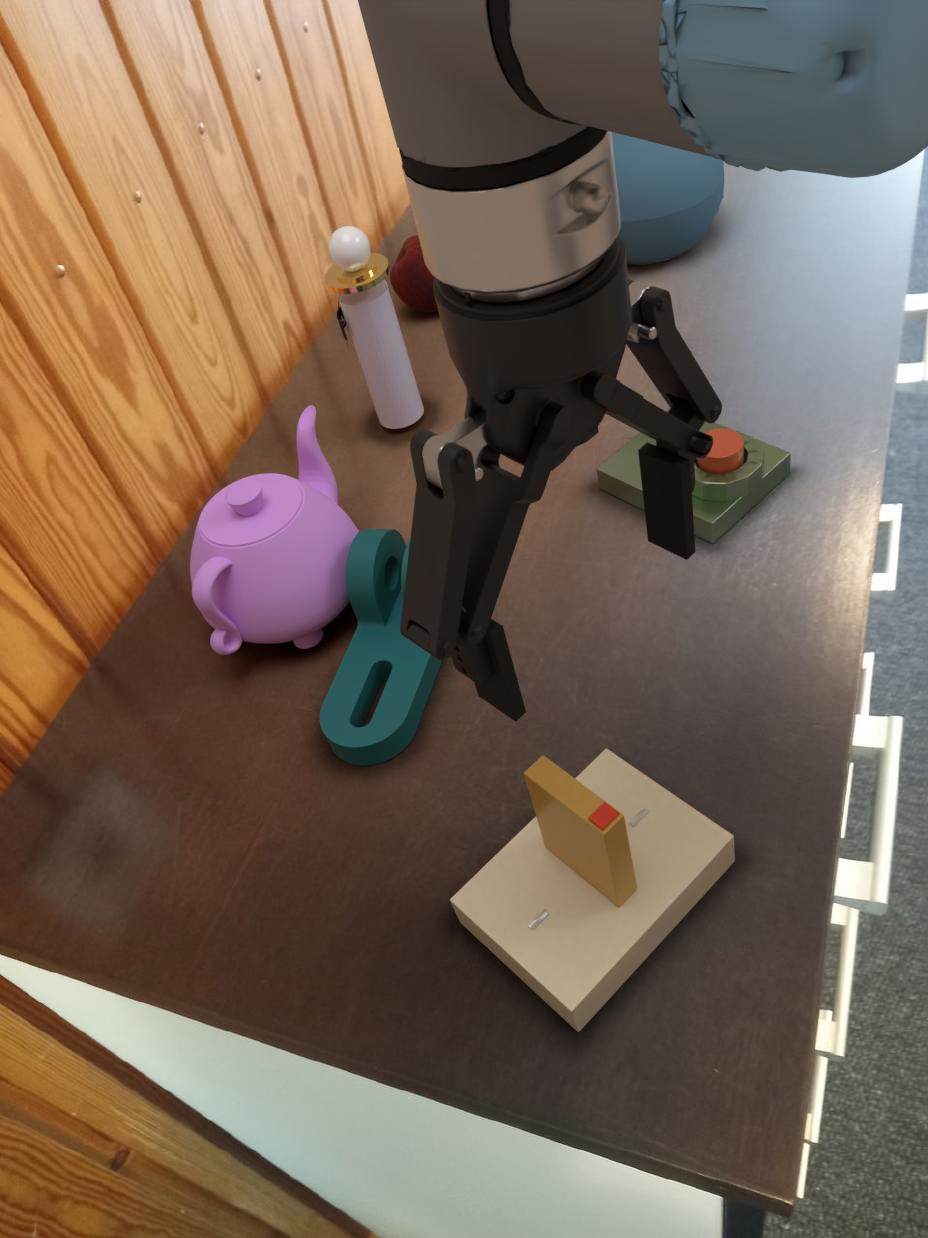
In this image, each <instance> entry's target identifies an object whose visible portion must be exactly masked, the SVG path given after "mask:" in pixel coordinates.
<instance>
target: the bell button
mask: <svg viewBox="0 0 928 1238" xmlns="http://www.w3.org/2000/svg"><path fill="white" fill-rule="evenodd" d="M730 429H731V428H730ZM730 429H714V430H711V431H708V432H706V433H705V434H708V435H711V436H712V437H713V446H712V448H711V451H710V452H709V454H708V455H707V456H706V457H705V458H699V457H697V463H698V465H699V467H700V468H701V469H702V470H703V471H705V472H707V473H710V474H725V473H728V472H731V471H734V470H737V469H738V468H739V467H740V466H741V465H742V464H743V462H744V440H743V438H742V436H741V435H740V434H739V433H738V432H739V431H738V432H736V431H737V430H735V429H732V430H730ZM734 430H735V431H734Z"/></svg>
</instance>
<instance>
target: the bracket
mask: <svg viewBox="0 0 928 1238" xmlns="http://www.w3.org/2000/svg"><path fill="white" fill-rule="evenodd" d="M358 531H359V532H358V533H357V535H356V536H355V538H354V539H353V542H352V544H351V546H350V549H349V553H348V558H347V564H346V588H347V593H348V598H349V601H350V602H349V604H350V606H351V608H352V610H353V613H354V616H355V617H356V620H357V626H356V629H355V631H354V633H353V635H352V637H351V640H350V642H349V645H348V647H347V649H346V652H345V654H344V656H343V658H342V660H341V662H340V664H339V667H338V668H337V671H336V673H335V675H334V677H333V680H332V682H331V684H330V687H329V688H328V690H327V693H326V696H325V697H324V700H323V702H322V704H321V707H320V710H319V725H320V728H321V731H322V733H323V734H324V735H323V736H324V737H325V738H326V740H327V742H328V744H329V746H330V748H331V750H332V751H333V753H334V754H335V755H336V757H338V758H339V759H340V760H342V761H343V762H345V763H347V764H350V765H354V766H361V767H365V766H373V765H378V764H382V763H384V762H386V761H389V760H391V759H393V758H394V757H396V756H397V755H400V753H402V752H403V751H404V750H405V749H406V748H407V747H408V746H409V744H410V743H411V742H412V740H413V739H414V737H415V735H416V732H417V730H418V727H419V725H420V722H421V720H422V716H423V714H424V711H425V709H426V706H427V704H428V700H429V697H430V695H431V692H432V690H433V688H434V687H433V686H434V685H435V682H436V679H437V677H438V673H439V671H440V669H441V665H442V663H443V660H438V659H437V658H435V657H434V656H432V655H431V654H429V653H428V652H426V651H425V650H423V649H422V648H420V647H419V646H418V645H416V644H415V643H413V642H412V641H410V640H409V639H407V638H406V637H404V636H403V635H402V634H401V632H400V624H401V616H402V607H403V598H404V590H405V581H406V572H407V563H408V555H409V546H410V539H408V542H407V544H406V541H405V539H404V536H402V534H401V532H399V531H398V530H396V529H391V528H389V529H388V528H362V529H360V530H358ZM384 682H386V683H385V686H384V688H383V691H382V693H381V695H380V698H379V701H378V703H377V706H376V707H375V710H374V712H373V715H372V717H371V720H370V722H368V723H367V724H366V725H365V723H366V720H367V718H368V715H369V713H370V710H371V708H372V706H373V703H374V700H375V698H376V696H377V693H378V691H379V689H380V686H381V685H382V684H383V683H384Z"/></svg>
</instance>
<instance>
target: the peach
mask: <svg viewBox="0 0 928 1238" xmlns="http://www.w3.org/2000/svg"><path fill="white" fill-rule="evenodd" d="M433 280H434V276H433V275H432V274H431V272H430V271H429V269H428V268H427V266H426V265H425V261H424V257H423V253H422V249H421V245H420V240H419V236H418V234H415V235H412V236H409V237H407V239H405V240H404V242H403V244H402V246H401V248H400V250H399V252H398V254H397V257H396V260H395V262H394V264H393V265H392V266H391V268H390V272H389V282H390V285H391V287H392V290H393V292H394V293H395V295H396V296H397V297H398V299H400V300H401V301H402V302H403V303H404V304H405V305H406V306H407V307H409V308H411V309H413V310H415V311H417V312H422V313H434V312H437V311H438V308H437V304H436V300H435V296H434V291H433Z"/></svg>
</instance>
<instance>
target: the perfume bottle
mask: <svg viewBox="0 0 928 1238" xmlns="http://www.w3.org/2000/svg"><path fill="white" fill-rule="evenodd" d="M328 239H329V240H328V242H327V253H328V256H329V259H330V260H331V262H332V263H333V264H332V266H330V267H329V268H328V269H327V270H326V272H325V273H324V277H323V279H324V285H325V286H326V288H327V290H329V292H331V293H334V294H337V300H338V301H337V311H336V319H337V321H338V324H339V328H340V330H341V333H342V336H343V338H344V340H345V343H346V346H347V347H349V344H348V342H349V340H348V337H347V333H346V330H345V328H346V327H347V330H348V333H349V336H350V339H351V341H352V345H353V348H354V351H355V353H356V356H357V360H358V363H359V366H360V369H361V372H362V375H363V378H364V380H365V383H366V386H367V390H368V392H369V393H368V394H369V396H370V399H371V401H372V405H373V408H374V410H375V414H376V417H377V420H378V423H379V424H380V425H381V427H384V428H386V429H391V430H397V429H398V430H399V429H403V428H407V427H409V426H412V425H413V424H415V423H416V422H418V421H419V420H420V419H421V418H422V417H423V415H424V412H425V408H424V407H425V406H424V404H423V400H422V397H421V393H420V390H419V386H418V383H417V379H416V377H415V376H416V375H415V373H414V370H413V366H412V363H411V359H410V356H409V351H408V348H407V346H406V342H405V339H404V335H403V333H402V329H401V325H400V322H399V317H398V315H397V312H396V311H397V310H396V307H395V305H394V301H393V297H392V295H391V291H390V287H389V283H388V282H387V280H386V278H387V277H388V276H389V275H390V271H391V267H390V263H389V260H388V258H387V257H386V256H385V255H384V254H381V253H378V252H377V253H376V252H372V247H371V242H370V239H369V238H368V236H367V234H366V233H365V232H364V231H363V230H362V229H360V228H358V227H356V226H353V225H343V226H340V227H339V228H337V229H335V230H334V231H333V232H332V234H331V235H330V237H329V238H328Z"/></svg>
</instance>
